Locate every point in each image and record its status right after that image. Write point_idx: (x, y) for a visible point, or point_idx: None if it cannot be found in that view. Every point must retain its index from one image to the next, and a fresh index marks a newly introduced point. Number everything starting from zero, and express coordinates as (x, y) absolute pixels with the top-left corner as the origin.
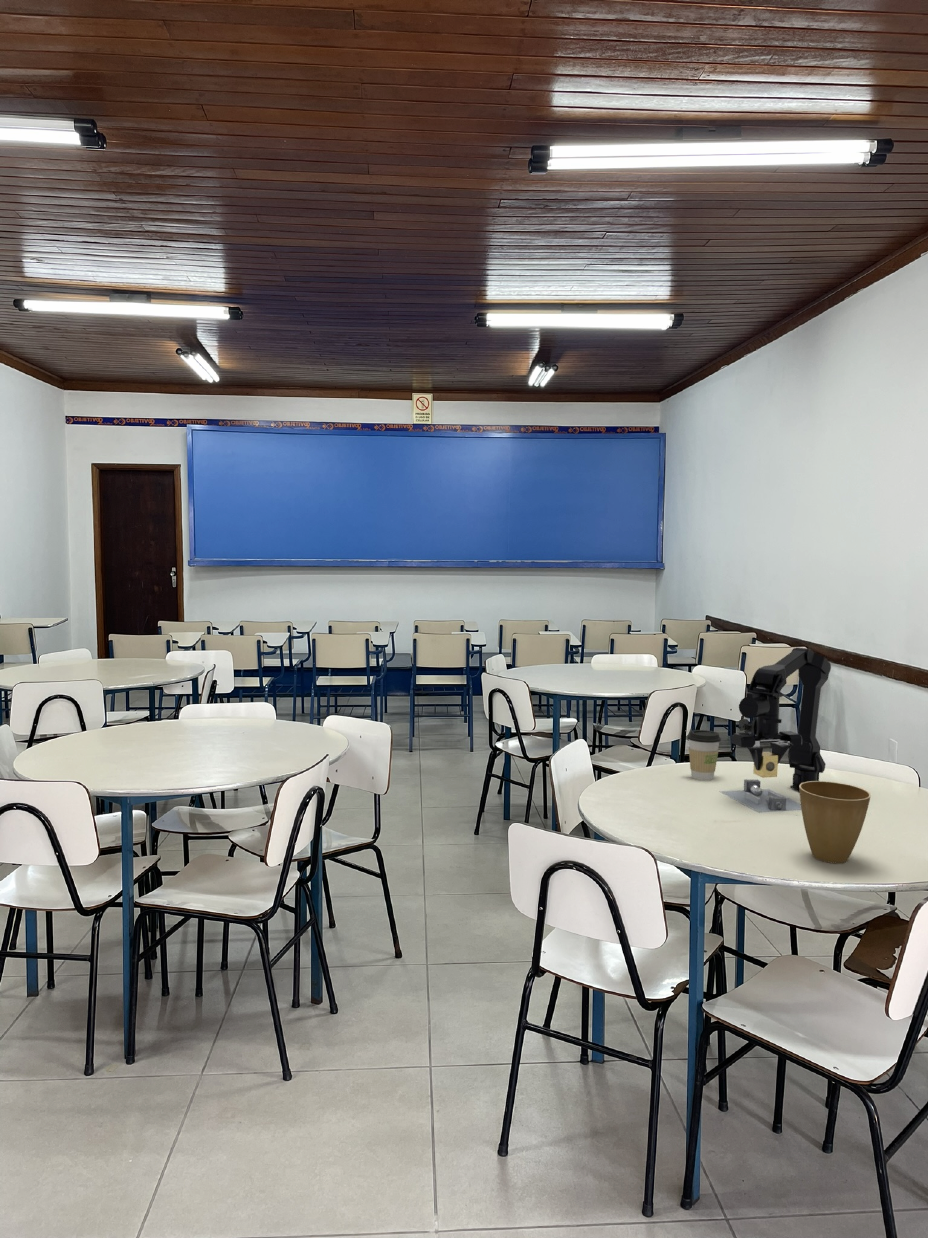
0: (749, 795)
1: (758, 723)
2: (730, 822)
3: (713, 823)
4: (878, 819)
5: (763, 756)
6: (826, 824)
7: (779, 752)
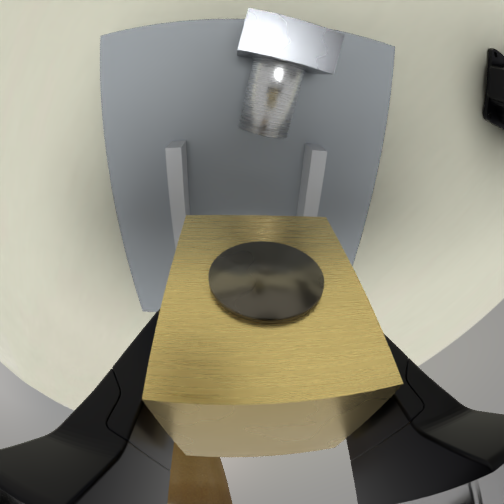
0: (169, 189)
1: None
2: (66, 315)
3: (35, 310)
4: (424, 333)
5: (186, 453)
6: None
7: (354, 465)
